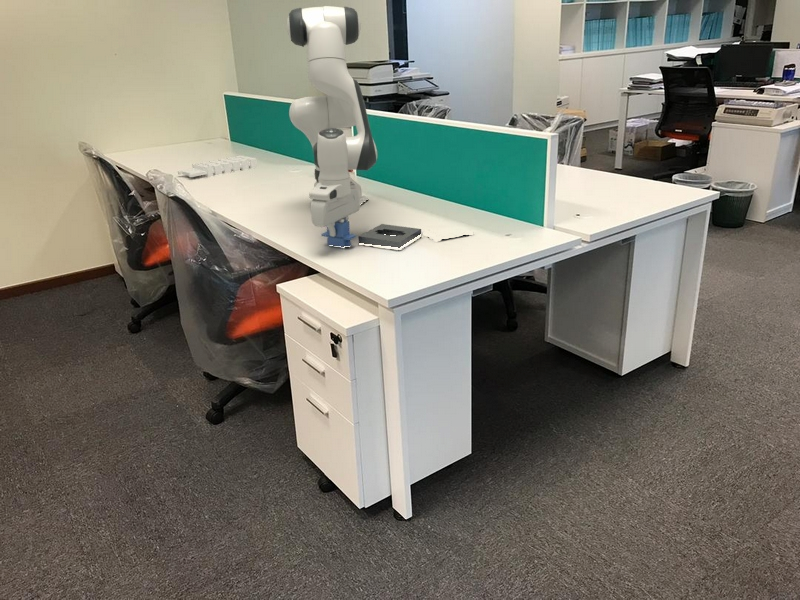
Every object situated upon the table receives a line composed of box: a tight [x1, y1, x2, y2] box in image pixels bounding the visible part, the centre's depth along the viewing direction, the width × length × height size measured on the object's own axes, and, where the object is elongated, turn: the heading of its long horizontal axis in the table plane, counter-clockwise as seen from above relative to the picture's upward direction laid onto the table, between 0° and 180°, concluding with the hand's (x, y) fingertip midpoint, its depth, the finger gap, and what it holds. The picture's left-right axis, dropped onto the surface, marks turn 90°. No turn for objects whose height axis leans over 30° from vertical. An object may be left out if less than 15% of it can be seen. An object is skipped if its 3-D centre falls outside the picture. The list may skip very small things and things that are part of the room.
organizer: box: [177, 155, 258, 178], centre depth 294 cm, size 13×5×35 cm
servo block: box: [320, 219, 357, 247], centre depth 186 cm, size 4×10×8 cm, turn 61°
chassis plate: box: [357, 223, 422, 248], centre depth 189 cm, size 14×14×3 cm
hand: (338, 233), depth 186 cm, fingers closed on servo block, 4 cm apart
